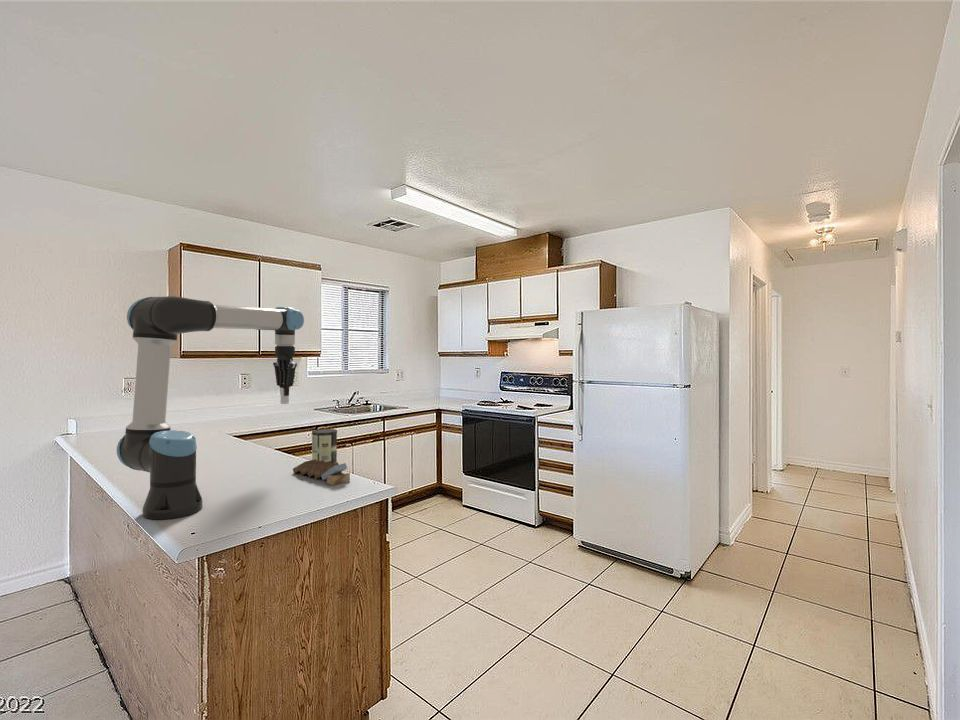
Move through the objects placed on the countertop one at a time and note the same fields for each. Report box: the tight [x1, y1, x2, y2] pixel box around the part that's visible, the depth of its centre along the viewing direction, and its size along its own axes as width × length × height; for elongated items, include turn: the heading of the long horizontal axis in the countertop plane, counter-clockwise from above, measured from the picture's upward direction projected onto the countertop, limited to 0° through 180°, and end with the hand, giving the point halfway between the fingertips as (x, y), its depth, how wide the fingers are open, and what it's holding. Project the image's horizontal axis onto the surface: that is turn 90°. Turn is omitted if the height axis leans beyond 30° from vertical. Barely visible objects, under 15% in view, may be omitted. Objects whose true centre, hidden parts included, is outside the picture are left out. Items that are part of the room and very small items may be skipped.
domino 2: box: [299, 460, 324, 477], centre depth 187 cm, size 2×5×9 cm
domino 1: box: [292, 459, 317, 474], centre depth 190 cm, size 2×5×9 cm
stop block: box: [326, 471, 351, 486], centre depth 179 cm, size 8×3×3 cm, turn 145°
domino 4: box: [313, 461, 340, 480], centre depth 182 cm, size 2×5×9 cm
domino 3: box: [307, 461, 332, 478], centre depth 185 cm, size 2×5×9 cm
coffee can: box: [311, 428, 338, 464], centre depth 207 cm, size 10×10×14 cm
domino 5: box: [321, 462, 348, 481], centre depth 180 cm, size 2×5×9 cm
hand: (284, 403), depth 197 cm, fingers closed
